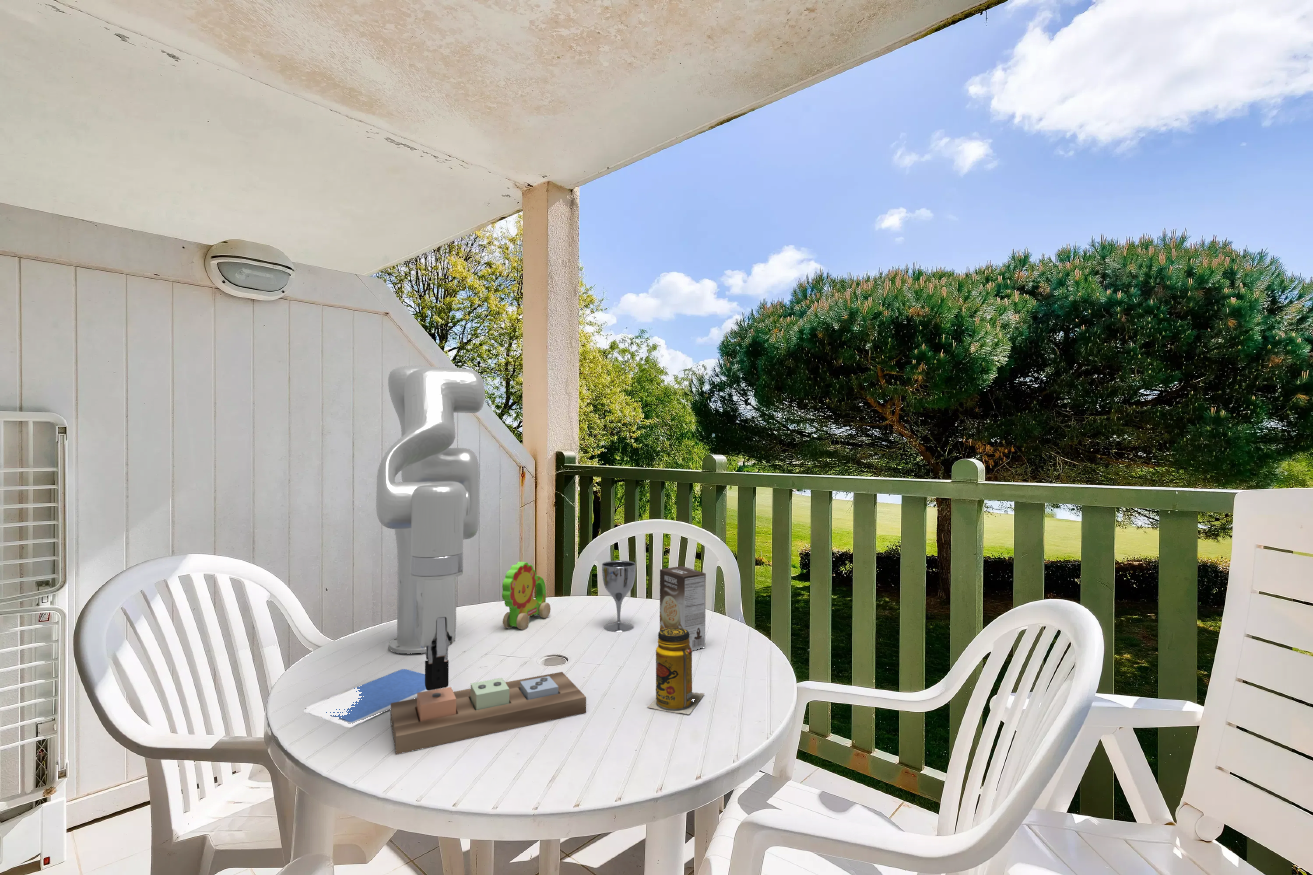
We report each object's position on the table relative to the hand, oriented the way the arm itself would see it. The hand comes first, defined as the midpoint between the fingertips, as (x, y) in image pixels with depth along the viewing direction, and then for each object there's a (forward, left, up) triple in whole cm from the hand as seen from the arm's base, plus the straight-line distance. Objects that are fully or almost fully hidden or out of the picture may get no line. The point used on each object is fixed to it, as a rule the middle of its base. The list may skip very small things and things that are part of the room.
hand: (436, 686), depth 90 cm
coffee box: (-15, +52, -6) cm, 55 cm away
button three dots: (0, +16, -6) cm, 17 cm away
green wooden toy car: (-46, +26, -7) cm, 54 cm away
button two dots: (0, +8, -5) cm, 9 cm away
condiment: (+9, +37, -7) cm, 39 cm away
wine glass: (-33, +45, -6) cm, 56 cm away
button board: (0, +8, -6) cm, 10 cm away
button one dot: (0, 0, -5) cm, 5 cm away
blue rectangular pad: (-16, -7, -7) cm, 19 cm away
